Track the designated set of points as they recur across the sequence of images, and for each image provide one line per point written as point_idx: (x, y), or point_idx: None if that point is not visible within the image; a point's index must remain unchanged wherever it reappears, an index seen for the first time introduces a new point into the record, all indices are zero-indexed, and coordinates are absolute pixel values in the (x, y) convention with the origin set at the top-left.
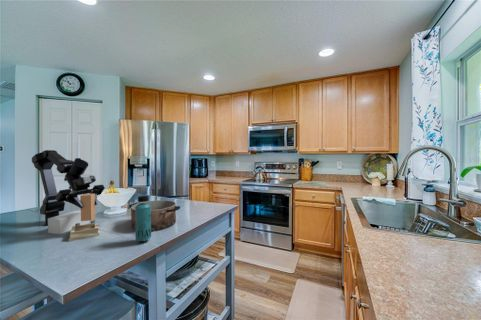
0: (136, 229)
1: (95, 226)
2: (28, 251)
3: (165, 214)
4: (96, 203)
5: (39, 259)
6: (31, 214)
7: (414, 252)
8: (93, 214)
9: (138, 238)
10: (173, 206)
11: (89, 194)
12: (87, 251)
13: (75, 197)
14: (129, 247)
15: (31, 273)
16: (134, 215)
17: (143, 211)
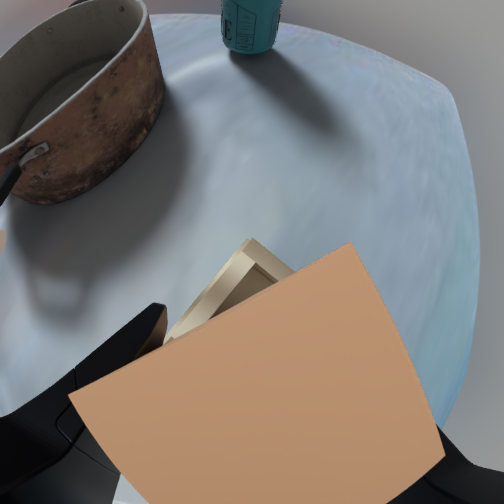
0: (277, 17)
1: (230, 285)
2: (435, 368)
3: (117, 14)
4: (161, 308)
5: (453, 258)
6: None
7: None
8: (217, 315)
9: (276, 34)
10: (73, 8)
11: (248, 438)
12: (374, 153)
13: (454, 469)
14: (298, 60)
15: (474, 197)
16: (134, 75)
17: None
